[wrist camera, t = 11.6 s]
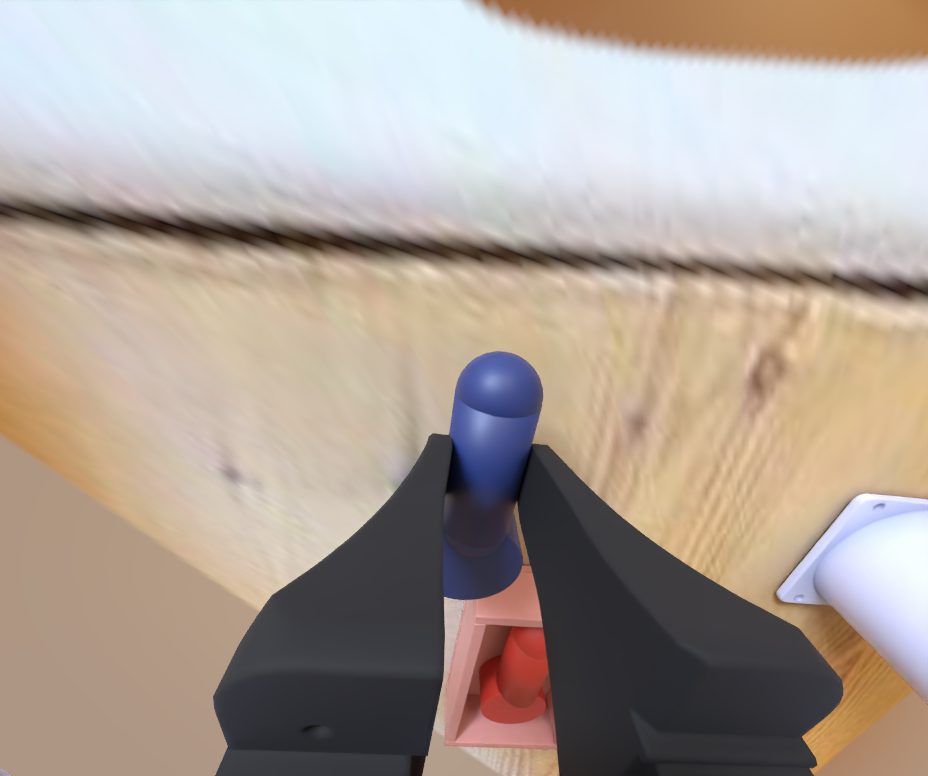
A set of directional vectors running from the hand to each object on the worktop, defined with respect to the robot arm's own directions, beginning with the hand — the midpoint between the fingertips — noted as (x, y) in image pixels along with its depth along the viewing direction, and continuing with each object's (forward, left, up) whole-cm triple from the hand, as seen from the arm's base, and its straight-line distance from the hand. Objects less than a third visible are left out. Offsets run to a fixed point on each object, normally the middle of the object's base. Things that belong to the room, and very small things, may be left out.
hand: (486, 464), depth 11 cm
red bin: (-5, +16, -4) cm, 17 cm away
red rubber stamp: (-5, +16, -3) cm, 17 cm away
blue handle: (0, +1, -1) cm, 2 cm away
